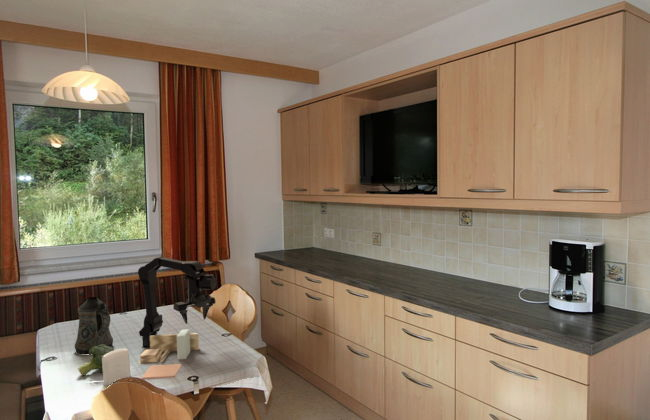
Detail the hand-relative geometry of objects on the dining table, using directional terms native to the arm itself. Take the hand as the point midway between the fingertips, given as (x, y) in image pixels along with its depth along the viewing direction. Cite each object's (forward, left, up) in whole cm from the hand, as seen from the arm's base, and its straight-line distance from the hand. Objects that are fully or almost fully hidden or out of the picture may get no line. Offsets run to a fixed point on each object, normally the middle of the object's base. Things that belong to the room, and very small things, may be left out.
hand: (195, 321), depth 206 cm
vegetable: (-36, -21, -14) cm, 44 cm away
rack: (-10, -7, -14) cm, 18 cm away
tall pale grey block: (-4, -8, -14) cm, 16 cm away
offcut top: (-18, -10, -11) cm, 24 cm away
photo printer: (-25, -30, -14) cm, 41 cm away
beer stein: (-49, +8, -14) cm, 52 cm away
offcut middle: (-18, -10, -13) cm, 24 cm away
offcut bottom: (-18, -10, -15) cm, 25 cm away
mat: (-9, -24, -14) cm, 29 cm away
